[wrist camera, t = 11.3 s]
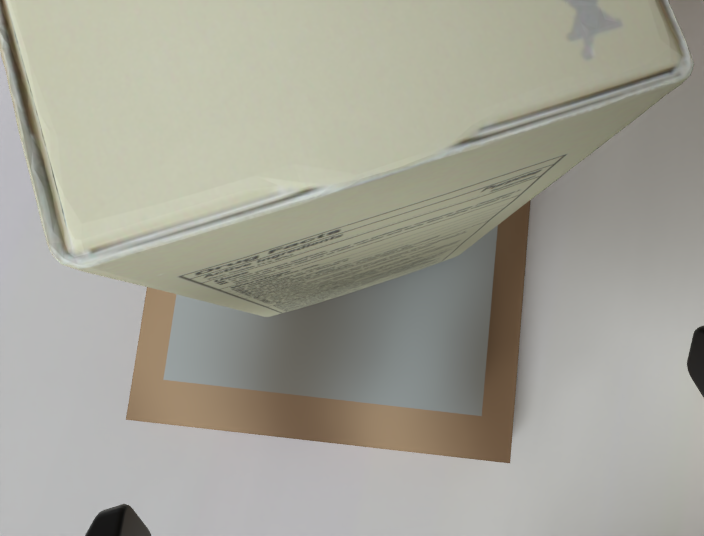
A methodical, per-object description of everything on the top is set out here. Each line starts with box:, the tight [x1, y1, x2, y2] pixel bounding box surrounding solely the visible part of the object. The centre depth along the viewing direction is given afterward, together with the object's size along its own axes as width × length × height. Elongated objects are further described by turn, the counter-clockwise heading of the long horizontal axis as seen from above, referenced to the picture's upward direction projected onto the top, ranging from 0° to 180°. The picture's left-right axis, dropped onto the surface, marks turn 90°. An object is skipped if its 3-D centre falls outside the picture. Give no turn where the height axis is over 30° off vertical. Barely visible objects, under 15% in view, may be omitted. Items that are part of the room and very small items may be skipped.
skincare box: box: [0, 0, 694, 317], centre depth 12 cm, size 6×4×12 cm
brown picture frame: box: [126, 201, 530, 463], centre depth 19 cm, size 12×12×4 cm
